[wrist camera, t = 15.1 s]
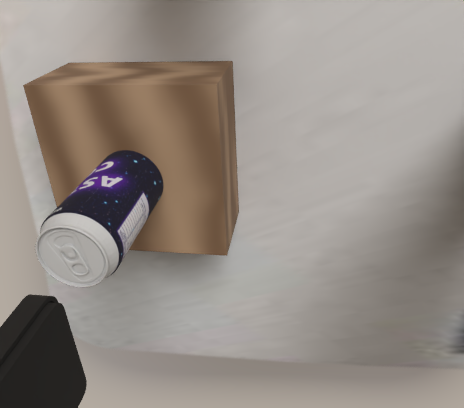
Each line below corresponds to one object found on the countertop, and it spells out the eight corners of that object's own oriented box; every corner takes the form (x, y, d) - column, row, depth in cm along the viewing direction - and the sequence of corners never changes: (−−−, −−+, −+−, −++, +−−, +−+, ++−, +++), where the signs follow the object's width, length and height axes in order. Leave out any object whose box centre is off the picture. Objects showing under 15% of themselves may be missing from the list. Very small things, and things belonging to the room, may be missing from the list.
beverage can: (150, 138, 37) (86, 212, 27) (176, 196, 39) (128, 284, 29) (92, 155, 39) (12, 231, 28) (121, 210, 41) (57, 298, 31)
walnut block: (232, 61, 41) (216, 84, 34) (238, 211, 49) (226, 255, 42) (68, 62, 43) (23, 85, 36) (100, 205, 51) (68, 246, 44)
